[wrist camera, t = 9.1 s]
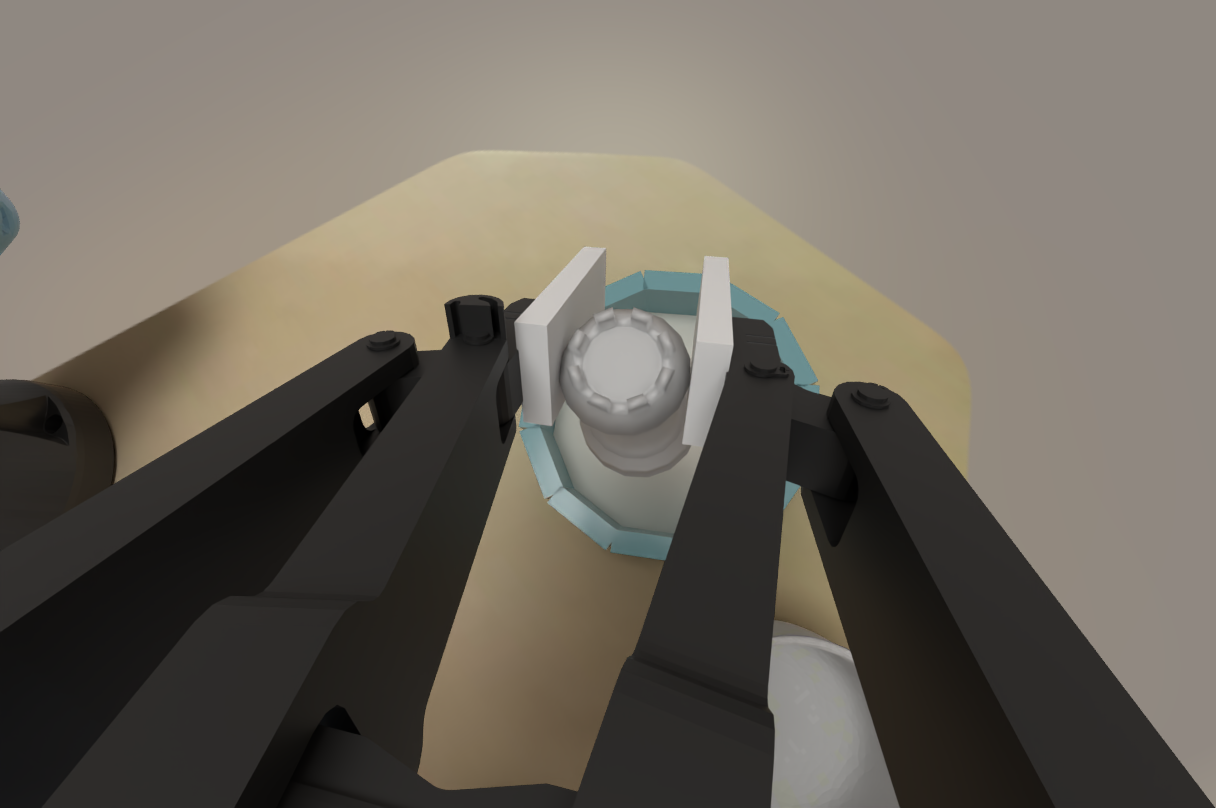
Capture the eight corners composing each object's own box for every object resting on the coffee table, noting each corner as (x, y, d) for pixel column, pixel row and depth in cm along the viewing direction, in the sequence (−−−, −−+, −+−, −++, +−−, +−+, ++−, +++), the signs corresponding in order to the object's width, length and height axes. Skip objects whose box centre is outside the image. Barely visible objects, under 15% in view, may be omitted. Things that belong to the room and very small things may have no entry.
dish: (524, 531, 30) (500, 536, 26) (561, 295, 33) (546, 263, 29) (787, 569, 28) (810, 582, 24) (801, 312, 31) (824, 281, 27)
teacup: (644, 632, 28) (636, 682, 20) (817, 576, 28) (877, 606, 20) (728, 901, 25) (758, 1083, 17) (926, 844, 24) (1048, 1004, 17)
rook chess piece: (686, 358, 19) (701, 251, 11) (707, 469, 18) (739, 440, 10) (577, 376, 19) (516, 286, 11) (591, 486, 18) (534, 470, 10)
